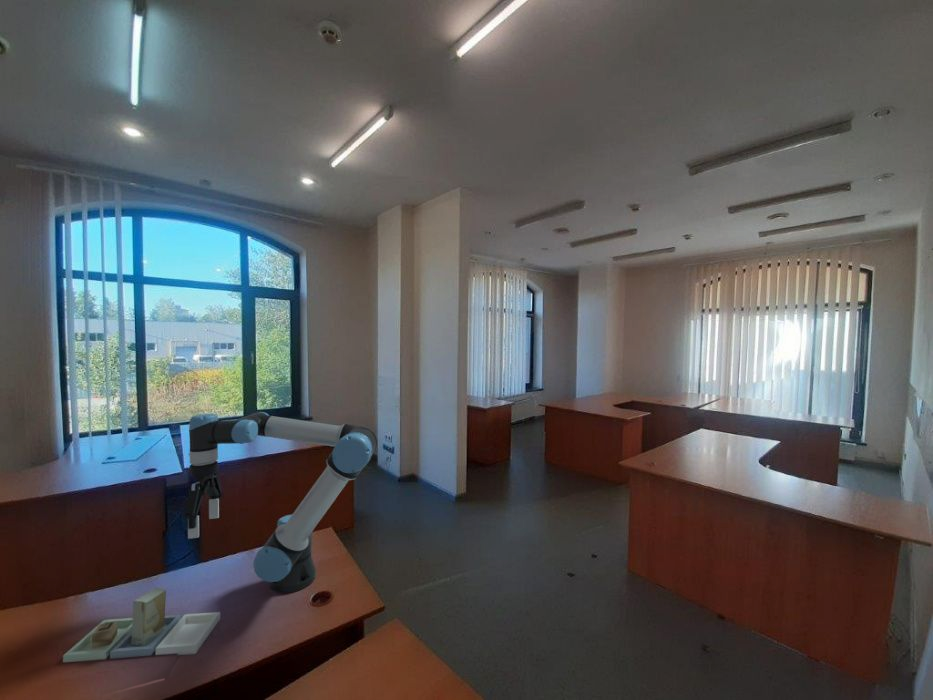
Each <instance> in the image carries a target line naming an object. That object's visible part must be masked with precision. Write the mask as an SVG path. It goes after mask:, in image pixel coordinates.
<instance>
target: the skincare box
mask: <svg viewBox="0 0 933 700" xmlns="http://www.w3.org/2000/svg"><path fill="white" fill-rule="evenodd" d="M166 597H167V589H163V588H159V587H154V588H152V589H150V590H148V591H147V592H146V593H144V594H142V595H141V596H139V597H137V598H136V599H134V600H133V601H132V602H133V603H132V618H133V620H132V637H131V644H133V645H137V646H145V645H146V644H147V643H149V642H150V641H152V640H153V639H154V638H156V637H157V636H158V635H160V634H161V633H162V632H163V631H164V622H165V616H166V599H167V598H166Z"/></svg>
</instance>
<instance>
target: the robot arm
mask: <svg viewBox="0 0 933 700" xmlns="http://www.w3.org/2000/svg"><path fill="white" fill-rule="evenodd" d="M188 426H189V428H188V433H189V434H188V435H189V453H188V457H189V464H190V465H189V477H190V478H193V479H194V483H189V485H188V493H187V498H186V503H185V508H184V511H183V519H187V539H188V540H189V539H197V538H199V537H200V515H199V512H200V507H201V505H202V502H203V497H204V496H205V495H206V494H208V496H209V498H210V499H209V500H208V519H209V520H212V519H219V518H220V506H219V505H220V499H221V498H222V497H223V494H222V493H223V490H222V486H221V483H220V479H219V475H218V474H219V473H218V471H219V462H218V459H219V450H218V449H219V447H218V445H222V444H225V445H226V444H227V445H229V444H232V445H233V444H239V445H240V444H241V445H243V444H249V443H252V442H254V441H255V440H256V438H257V437H258V436H259V437H267V438H273V439H280V440H286V441H287V440H288V441H295V442H301V443H306V444H315V445H322V446H327V447H328V446H329V447H334V448H333V450H332V451H331V453H330V454H329V456H328V457H327V458H326V467H325V469H324V471H322V473H321V475H319V477H318V479H317V480H316V481H315V482H314V484H313V485H312V487H311V488H310V489H309V491H308V492H307V494H306V495H305V497H304V498H303V500H301V502H300V504H299V505H298V506H297V507H296V509H294V512H293V513H292V514H287V515H284V516H282V517H281V518H278V520H277V524H276V529H275V530H274V531H273V533H272V534H271V536H270V537H269V538H268V540H267V541H266V542H265V544H264V545H263V547H261V549H259V550H258V551H257V552H256V555H255V556H254V558H253V563H252V565H253V569H254V573H255V574H256V576H257V577H258V578H260V580H262V581H264V582H266V583H267V582H268V583H270V585H269V586H270V588H271V590H273V592H276V593H280V594H281V593H282V594H286V593H288V594H289V593H294V592H299V591H300V590H303V589H305V588H307V587H308V586H310V585H311V584H312V583H314V581H313V580H315V579H316V577H317V568H316V566H315V562H314V559H313V556H312V551H313V550H312V548H313V547H312V546H313V545H312V544H313V543H312V542H313V541H312V540H313V531H314V530H315V528H316V527H317V525H318V524H319V522H320V521H321V520H322V519H323V517H324V515H326V513H327V512H328V510H329V509H330V508H331V506H332V504H333V503H334V502H335V501H336V499H337V497H338V496H339V494H340V493H341V492H342V491H343V490H344V488H345V487H346V485H347V484H348V483H349V481H353V480H356V479H357V478H358V476H359V475H360V473H361V472H362V471H363V469H364V468H365V467H366V466H367V465H368V463H369V462H370V460H371V459H372V456H373V455H374V453H375V451H376V450H377V447H378V438H377V434H376V433H375V432H374V431H373V429H372V428H369V427H367V426H364V425H356V424H349V423H343V424H342V425H337V424H330V423H322V422H317V421H316V422H315V421H310V420H303V419H302V420H301V419H295V418H288V417H281V416H275V415H274V416H273V415H269V414H268V413H267V412H263V411H259V412H253V413H251V414H249V415H246V416H243V417H240V418H237V419H231V420H220V419H219V418H218V414H217V413H216V414H215V413H204V414H202V413H201V414H197V415H192V416H191V417H190V419H189V425H188ZM219 498H220V499H219ZM315 576H316V577H315Z"/></svg>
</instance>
